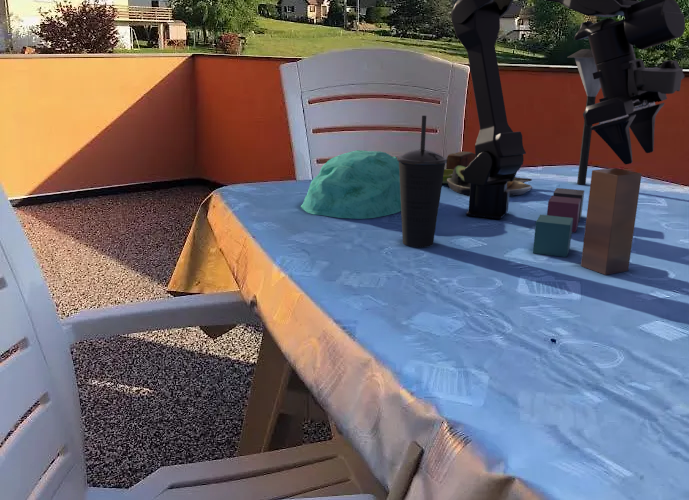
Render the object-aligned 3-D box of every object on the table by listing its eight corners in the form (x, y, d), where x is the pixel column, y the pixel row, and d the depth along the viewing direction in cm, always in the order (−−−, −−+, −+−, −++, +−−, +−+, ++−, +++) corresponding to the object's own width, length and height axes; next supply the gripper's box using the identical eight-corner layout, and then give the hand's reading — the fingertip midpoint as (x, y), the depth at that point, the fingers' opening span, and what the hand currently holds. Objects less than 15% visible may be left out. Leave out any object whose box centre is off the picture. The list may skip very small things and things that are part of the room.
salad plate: (514, 180, 167) (516, 160, 165) (552, 196, 150) (554, 174, 149) (437, 182, 162) (438, 162, 161) (467, 198, 146) (468, 176, 144)
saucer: (429, 183, 159) (430, 174, 159) (431, 177, 168) (431, 168, 167) (468, 185, 158) (469, 176, 158) (468, 179, 166) (469, 170, 166)
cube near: (532, 253, 108) (535, 221, 107) (537, 245, 113) (540, 214, 111) (566, 257, 106) (570, 225, 105) (569, 248, 111) (573, 217, 110)
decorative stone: (432, 195, 148) (435, 148, 145) (379, 223, 124) (381, 166, 121) (344, 185, 157) (345, 140, 154) (278, 209, 133) (278, 156, 130)
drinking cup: (410, 252, 107) (416, 119, 102) (384, 240, 114) (389, 114, 108) (451, 246, 111) (460, 117, 105) (424, 235, 117) (430, 112, 112)
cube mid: (545, 229, 123) (548, 201, 121) (548, 223, 127) (551, 195, 126) (575, 232, 121) (578, 204, 119) (577, 226, 125) (581, 198, 124)
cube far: (550, 219, 130) (553, 192, 128) (553, 213, 134) (556, 187, 133) (579, 222, 128) (582, 195, 126) (581, 216, 132) (584, 190, 131)
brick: (460, 175, 172) (461, 156, 170) (445, 173, 174) (446, 154, 172) (476, 169, 180) (477, 151, 179) (461, 168, 182) (462, 149, 181)
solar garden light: (611, 182, 167) (628, 50, 159) (607, 191, 156) (624, 50, 148) (557, 177, 172) (571, 49, 163) (550, 185, 161) (564, 48, 153)
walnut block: (605, 275, 98) (618, 175, 94) (580, 266, 102) (591, 170, 98) (628, 270, 101) (642, 173, 97) (603, 262, 104) (615, 168, 100)
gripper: (646, 46, 96) (673, 157, 98) (688, 37, 109) (712, 135, 111) (570, 72, 104) (596, 174, 105) (618, 60, 117) (641, 151, 119)
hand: (639, 158), depth 110 cm, fingers open, 9 cm apart
